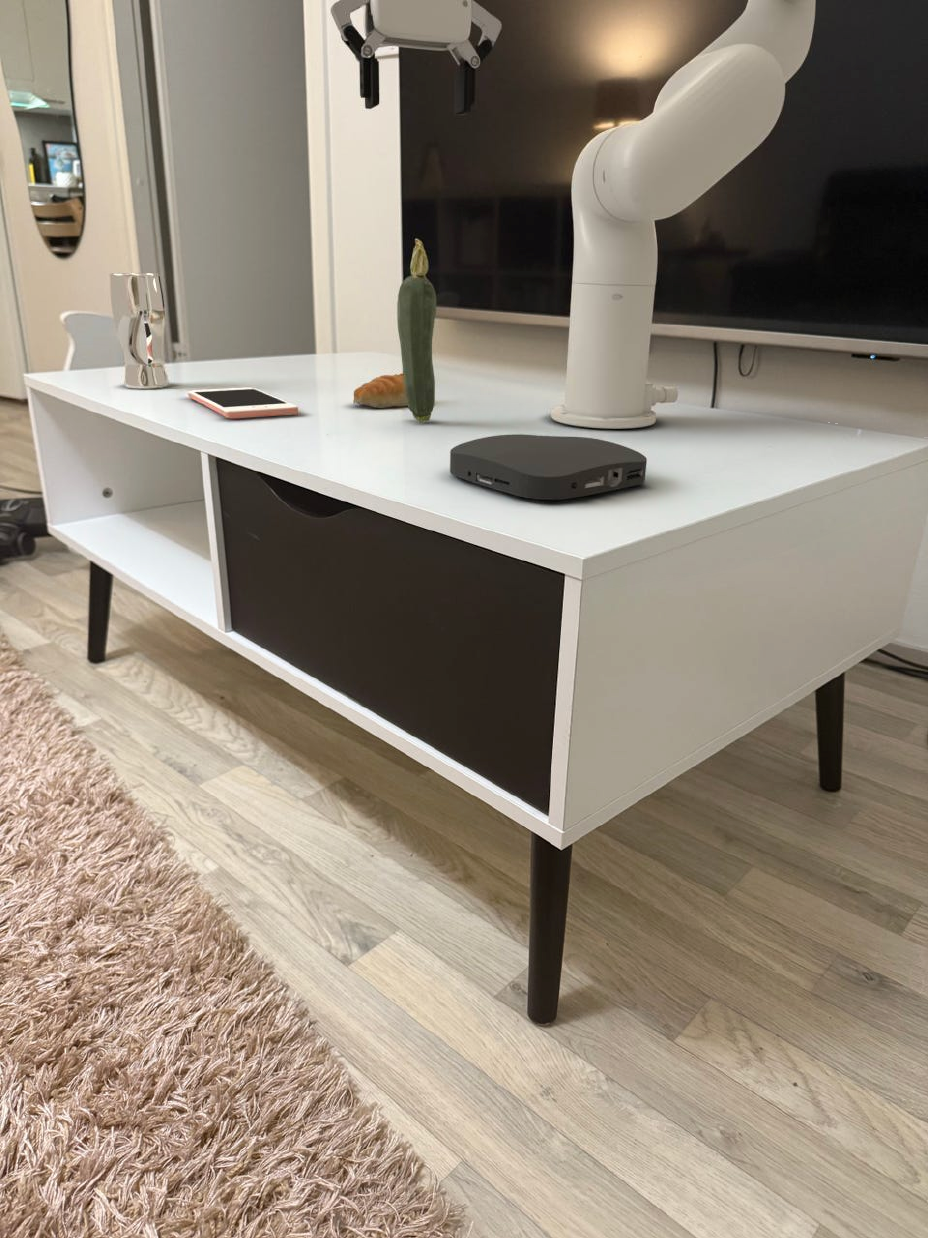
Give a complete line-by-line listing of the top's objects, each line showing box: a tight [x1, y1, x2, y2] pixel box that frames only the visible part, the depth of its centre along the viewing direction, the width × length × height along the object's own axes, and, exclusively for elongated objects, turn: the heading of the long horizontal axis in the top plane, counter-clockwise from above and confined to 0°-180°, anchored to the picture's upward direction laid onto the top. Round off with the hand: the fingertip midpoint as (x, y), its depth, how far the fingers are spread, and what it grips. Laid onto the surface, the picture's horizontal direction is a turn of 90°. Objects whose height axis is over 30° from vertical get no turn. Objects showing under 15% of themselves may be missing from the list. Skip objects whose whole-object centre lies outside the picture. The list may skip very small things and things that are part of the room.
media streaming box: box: [449, 433, 648, 501], centre depth 80 cm, size 15×15×3 cm
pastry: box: [352, 372, 408, 409], centre depth 117 cm, size 9×7×4 cm
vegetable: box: [396, 238, 437, 423], centre depth 102 cm, size 4×4×20 cm
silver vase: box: [109, 272, 170, 390], centre depth 126 cm, size 7×7×15 cm
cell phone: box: [187, 386, 299, 419], centre depth 114 cm, size 9×18×1 cm, turn 30°
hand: (418, 110), depth 92 cm, fingers open, 9 cm apart
